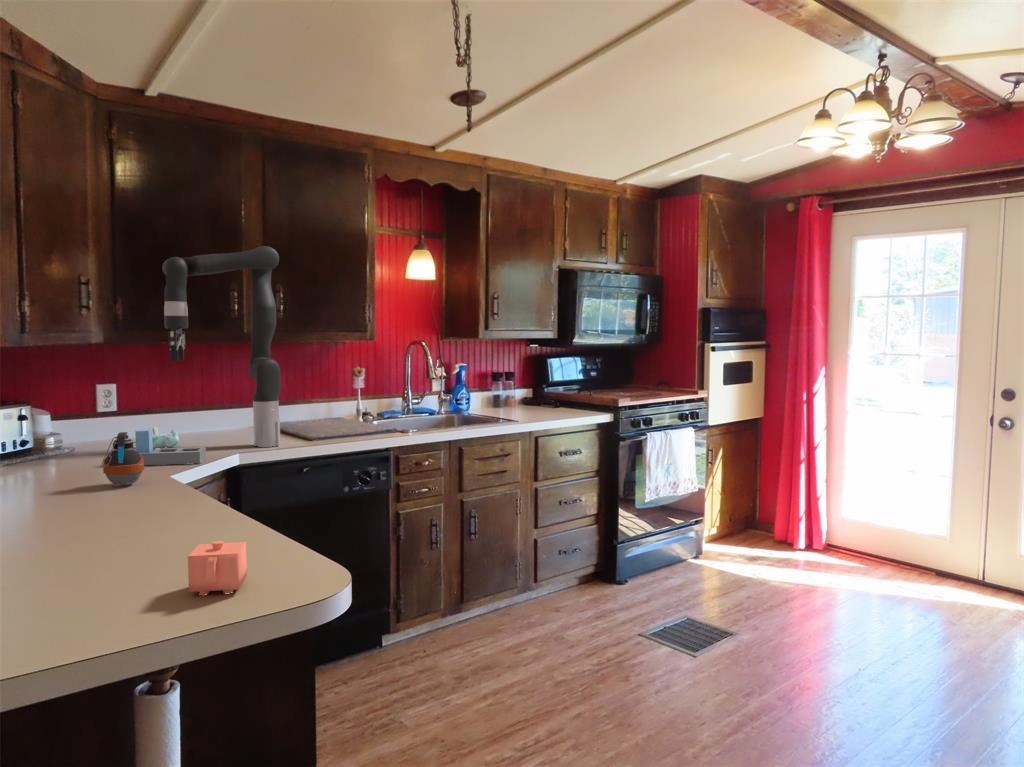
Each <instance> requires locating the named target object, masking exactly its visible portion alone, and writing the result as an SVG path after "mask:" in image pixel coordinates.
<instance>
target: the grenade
mask: <svg viewBox="0 0 1024 767" xmlns="http://www.w3.org/2000/svg"><path fill="white" fill-rule="evenodd" d="M114 439H115V440H114ZM111 446H112V449H111V450H110V448H111ZM109 450H110V452H109ZM108 452H109V453H108ZM101 466H102V469H103V475H104V474H105V476H106V478H107V480H109V482H110V483H112V484H113V485H116V486H120V487H123V486H124V487H126V486H129V485H130V486H131V485H132V484H134V483H136V482H137V481H138V480H139V479H140V477H141V476H142V473H143V471H144V470H145V466H144V460H143V457H142V455H141V454H139V453H138V452H137V451H135V449H134V442H133V440H132V439H130V438H129V435H128V432H127V431H123V432H119V433H117V435H116V436H114V437H112V439H111V442H110V444H109V446H108V448H107V451H106V453H105V454H104V457H103V459H102V461H101Z"/></svg>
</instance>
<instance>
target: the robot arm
mask: <svg viewBox="0 0 1024 767" xmlns="http://www.w3.org/2000/svg"><path fill="white" fill-rule="evenodd" d="M279 261H280V256H279V253H278V252H277V250H276V249H274V248H273V247H271V246H269V245H268V246H267V245H262V246H258V247H255V248H254V249H250V250H244V251H240V252H238V251H237V252H229V253H226V252H225V253H209V254H198V255H194V256H190V257H189V256H188V257H179V256H173V257H169V258H167V259H166V260H164V262H163V263H162V267H161V268H162V269H161V270H162V272H163V273H162V274H164V275H165V279H166V280H165V287H164V293H163V294H164V306H163V308H164V309H163V310H164V311H163V315H164V316H163V317H164V328H165V329H170V331H168V332H167V335H168V336H167V337H168V338H167V343H168V346H167V347H168V349H169V350H170V360H171V362H178V361H184V360H185V357H184V356H185V349H186V347H187V345H186V332H185V331H183V329H188V328H189V312H188V311H189V308H188V303H187V302H188V301H187V300H188V299H187V297H188V296H187V282H188V277H193V276H205V275H206V276H207V275H215V274H221V273H227V272H232V271H239V270H247V269H248V270H249V272H250V281H251V282H250V283H251V284H250V286H251V291H250V339H251V340H250V341H251V342H250V343H251V344H250V345H251V347H250V358H249V369H248V370H249V371H248V372H249V375H250V378H252V379H253V380H254V381H255V382H256V388H255V389H256V390H255V392H254V393H253V394H252V412H253V413H252V414H253V418H252V419H253V446H254V447H255V446H258V447H257V448H270V447H271V448H272V446H273V447H280V445H281V423H280V422H281V420H280V409H279V408H280V404H279V403H280V402H279V401H280V399H279V397H280V394H281V388H282V387H281V383H282V382H281V381H282V379H281V378H282V376H281V372H282V371H281V367H280V364H279V363H278V362H277V361H276V360H275V359H272V358H271V346H272V345H271V344H272V340H273V338H274V333H275V331H276V327H277V304H276V300H275V297H274V293H273V289H272V288H273V287H272V273H273V272H272V270H274V269H275V268H276V267H277V266H278V265H279ZM279 444H280V445H279Z"/></svg>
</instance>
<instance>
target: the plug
mask: <svg viewBox="0 0 1024 767" xmlns="http://www.w3.org/2000/svg"><path fill="white" fill-rule="evenodd" d="M152 429H153V428H151V429H149V428H148V429H138V430H135V449H136V451H137V452H138V453H146V452H153V449H154V448H153V443H152V436H153V431H152Z"/></svg>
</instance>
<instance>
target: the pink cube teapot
mask: <svg viewBox="0 0 1024 767" xmlns="http://www.w3.org/2000/svg"><path fill="white" fill-rule="evenodd" d="M247 564H248V563H247V542H246V541H239V542H224V541H223V540H216V541H213V542H211V543H199V544H197V546H196V547H195V548H194V549H193V550H192V551H191V552H190V553H189V555H188V556H187V568H188V569H187V572H188V575H187V576H188V577H187V578H188V592H189V593H197V592H198V594H200V595H205V594H208V593H209V594H210V592H216V591H217V592H218V591H222V592H223V594H224V593H231V592H233V591H235V590H240V589H241V587H242V585H243V583H244V581H245V580H246V579H247V574H248V569H247ZM209 594H208V595H209Z"/></svg>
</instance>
